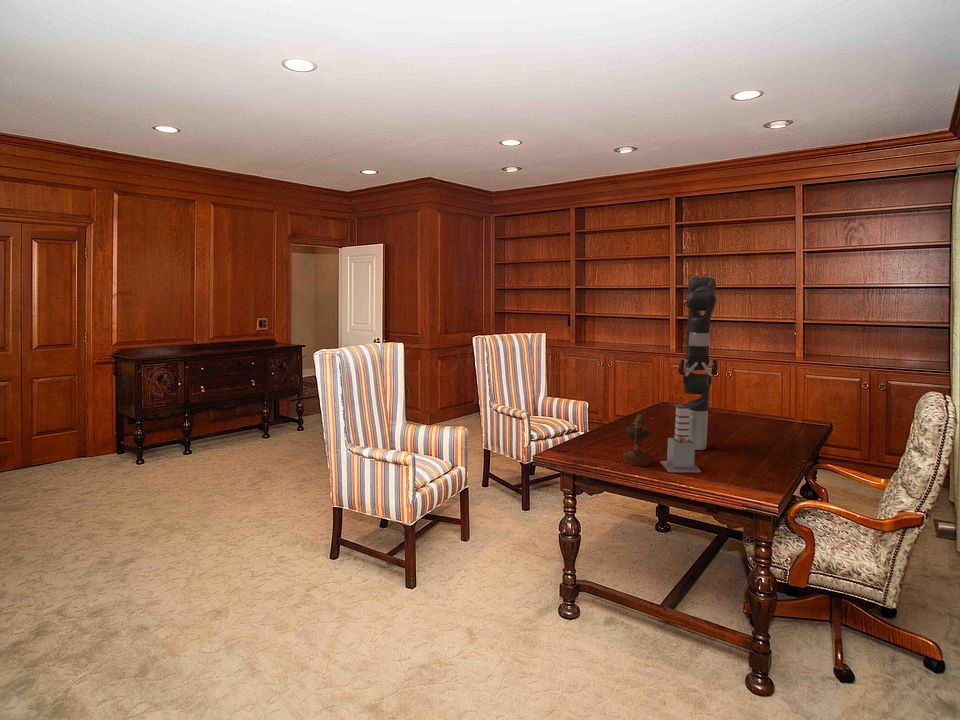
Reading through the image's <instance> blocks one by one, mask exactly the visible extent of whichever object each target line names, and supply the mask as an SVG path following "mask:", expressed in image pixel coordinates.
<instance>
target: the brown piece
mask: <svg viewBox="0 0 960 720" xmlns="http://www.w3.org/2000/svg"><path fill="white" fill-rule="evenodd" d="M643 422H644V416H643V415H642V414H638V415H637V416H636V417H635V418H634V419H633V420H632V423H631V425H633V426H629V427H627V428H626V430H625V434H626V436H627V437H628V438H630V439H632V441H633V449H632V450H627V451H625V452H623V463H624V464H627V465H629V466H635V467H645V466H649V465H651V454H650V453H648V451H647V452H646V451H643V450H640V449H641V448H642V445H643V444H642V443H641V441H642V440H647V439H648V438H649V437H650V435H651V431H650V429H649V428H648V427H645V426H643Z"/></svg>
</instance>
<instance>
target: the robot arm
mask: <svg viewBox="0 0 960 720" xmlns="http://www.w3.org/2000/svg"><path fill="white" fill-rule="evenodd" d="M716 284H717V283H716V280H715V279H714V278H713V277H707V276H706V277H705V276H704V277H702V276H700V277H698V276H697V277H696V276H693V277H690V278H689V281H688V286H687V297H686V301H685V305H686V307H687V313H688V314H687V326H686V327H687V328H686V344H685V346H686V347H685V348H686V353H685V354H686V356H685V359H683V358H680V359H679V363H678V370H677V371H678V372H677V373H678V374H680V376H682V384H683V391H684V393H685V394H687V395H700V396H699V397H698V398H696V399H694V400H690V401H688V402H686V404H688V405H690V406H691V407H692V408H691V409H690V413H689V434H688V435H689V436H688V438H689V439H690V440H691V441H693V442H694V443H695V451H697V450H698V451H699V450H700V451H701V450H702V451H703V450H707V441H708V440H707V437H708V422H709V421H708V417H709V415H708V414H709V398H710V397H709V396H710V387H711V385H712V383H713V382H712V380H713V376H716V375H718V360H717V359H715V358H712V359H710V358H709V357H710V353H709V352H710V343H711V341H710V326H711V319H712V314H713V313H714V312H713V311H714V309H715V306H716V304H717V303H716V302H717V297H716V296H715V295H716V287H717V286H716ZM701 312H704V314H701ZM709 364H710V365H711V370H710V369H709V367H708V365H709ZM694 371H704V373H693V372H694Z"/></svg>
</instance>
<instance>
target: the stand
mask: <svg viewBox="0 0 960 720" xmlns="http://www.w3.org/2000/svg"><path fill="white" fill-rule="evenodd" d="M674 439H675V437H667V447H666V448H667V454H666V460H660V465H661V466H662V467H664V469H666V470H667V472H669V473H699V474H700V473H701V472H702V470H701V469H700V468H699V466H697V465H696V464H695V457H696V456H695V455H696V454H695V453H696V452H695V451H696V450H695V443H694V442H693V441H691V440H690V439H689V438H688V442H687V440H686V439H682V440H681V442H676V441H675V440H674Z"/></svg>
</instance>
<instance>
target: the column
mask: <svg viewBox="0 0 960 720" xmlns="http://www.w3.org/2000/svg"><path fill="white" fill-rule="evenodd" d="M673 406H674V407H675V420H674V421H675V422H674V423H675V424H674V438H675V439H674V440H675V441H676V442H681V440H682V439H686V440H687V442H688V436H689V435H688V434H689V413H690V409H691V408H692V407H691V406H690V405H688V404H687V403H686V404H685V403H682V404H681V403H674V404H673Z"/></svg>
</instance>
